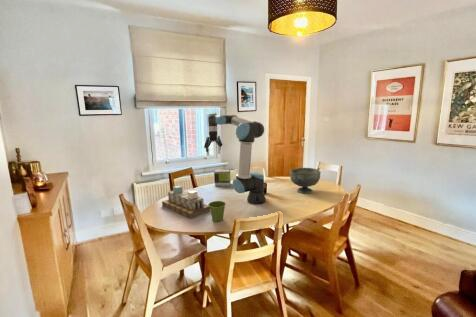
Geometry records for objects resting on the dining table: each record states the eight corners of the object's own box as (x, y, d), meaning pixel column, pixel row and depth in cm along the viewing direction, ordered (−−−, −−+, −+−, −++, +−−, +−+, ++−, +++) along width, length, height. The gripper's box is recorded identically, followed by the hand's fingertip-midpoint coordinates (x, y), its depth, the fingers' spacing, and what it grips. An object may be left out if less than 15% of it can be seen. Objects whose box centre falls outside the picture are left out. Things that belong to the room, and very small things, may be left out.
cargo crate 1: (182, 192, 193) (182, 186, 193) (177, 193, 190) (176, 188, 189) (178, 190, 197) (178, 185, 196) (173, 192, 193) (172, 186, 192)
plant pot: (212, 215, 176) (212, 200, 174) (228, 217, 173) (228, 201, 171) (205, 222, 165) (205, 206, 163) (222, 224, 162) (222, 208, 160)
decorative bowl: (326, 192, 222) (326, 170, 219) (307, 198, 208) (307, 175, 205) (303, 186, 244) (303, 166, 241) (284, 191, 230) (284, 170, 227)
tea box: (230, 183, 255) (230, 169, 252) (229, 186, 245) (229, 171, 242) (216, 183, 256) (215, 169, 254) (214, 186, 247) (213, 171, 244)
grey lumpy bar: (203, 207, 181) (203, 198, 180) (193, 210, 174) (193, 201, 173) (178, 197, 202) (177, 189, 201) (168, 200, 196) (168, 191, 194)
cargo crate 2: (197, 197, 181) (197, 191, 180) (192, 199, 177) (191, 193, 177) (193, 195, 184) (193, 190, 184) (187, 197, 181) (187, 191, 180)
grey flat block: (210, 211, 184) (210, 205, 183) (190, 218, 171) (190, 213, 170) (181, 200, 207) (181, 195, 207) (162, 206, 194) (161, 201, 194)
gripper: (220, 129, 231) (220, 152, 235) (199, 131, 213) (200, 155, 217) (225, 130, 226) (226, 153, 230) (204, 131, 208) (205, 156, 212)
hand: (213, 154), depth 223 cm, fingers open, 13 cm apart
